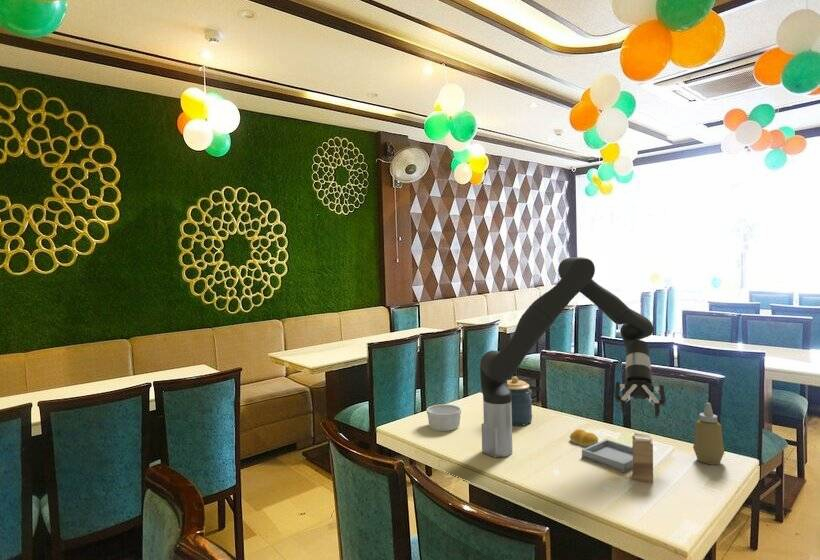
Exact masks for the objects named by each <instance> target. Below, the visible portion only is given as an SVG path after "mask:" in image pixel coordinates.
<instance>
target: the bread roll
mask: <svg viewBox="0 0 820 560" xmlns="http://www.w3.org/2000/svg"><path fill="white" fill-rule="evenodd" d="M569 439H570V440H571V442H572V443H574V444H576V445H580V446H582V447H589V446H592V445H594V444H596V443H599V437H598V436H597V435H596V434H594V433H592V432H587V431H586V430H584V429H576V430H574V431H573V432H571V433H570V435H569Z"/></svg>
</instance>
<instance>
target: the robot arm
mask: <svg viewBox="0 0 820 560" xmlns="http://www.w3.org/2000/svg"><path fill="white" fill-rule="evenodd" d="M557 271H558V276H559V277H560V280H559V281H558V283H556V284H555V285H554V286H553V287H552V288H551V289H549V290H548V291H546V292H544V293H543V294H542V295H541V296H539V297H538V298H537V299H536V300H534V301H533V302H532V303H531V304H530V305H529V306H528V307H527V309H526V310H525V311H524V313H523V314H522V315H521V317H520V319H519V320H518V322H517V325H516V328H515V330H514V332H513V335H512V337H511V338H510V340H509V341H508V343H507V344H506V345H505V346H504V347H503V348H502V349H501V350H500V351H499V350H490V351H489V350H488V351H486V352H485V353H484V355H482V356H481V359H480V366H479V375H480V388H481V392H482V397H483V398H482V400H483V401H482V403H483V405H482V406H483V423H481V453H482V454H483V453H484V454H486V455H488V456H489V457H490V456H491V457H493V458H495V459H497V458H502V457H503V458H505V457H508V456H511V455H512V454H513V425H512V397H511V392H510V390H509V387H508V384H507V380H511V379H512V377H513V376H514V374H515V373H516V372H517V370H518V368H519V367H520V366H521V364H522V362H523V360H524V359H525V357H526V356H527V355H528V353H530V351H531V350H532V349H533V347H534V346H535V345H536V344H537V342H538V341H539V340H540V339H541V338H542V336H544V335H545V333H546V332H547V331H548V330H549V328H550V327H551V326H552V325H553V324H554V322H555V321H556V319H557V318H558V317H559V316H560V315H561V314H562V313H563V311H564V310H565V309H566V307H567V306H568V305H569V304H570V302H571V301H572V300H573V299H574V298H575V297H576V296H577V295H578V294H579V293H581V294H582V295H583V296H585V298H587V299H588V300H589V301H591V303H593V305H595V306H596V307H597V308H598V309H599V310H600V311H601V312H603V314H605V316H607V317H608V319H610V320H611V321H612V322H613V323H614V324H615V325H621V326H620V330H619V331H620V332H619V333H620V335H621V338H622V341H623V343H624V347H625V356H626V358H625V367H624V368H625V383H620V381H616V382H615V388H614V389H615V390H614V391H615V392H614V401H615V402H616V403H620V406H621V407H620V408H621V409H620V410H621V413H622V414H623V415H624V416H626V415H627V402H629V401H630V400H631V399H632V398H633V399H637V400H638V399H641V400H645V399H647V400H648V402H649V403H651V404H652V405H653V414H654V415H653V416H654V418H657V419H658V417H660V414H661V412H660V410H661V409H660V407H661V406H662V407H665V406H666V401H667V399H666V394H665V393H666V392H665V387H664V385H663V384H660V385H659V386H655V385H653V379H652V378H653V377H652V376H653V375H652V364H651V359H650V349H649V345H648V343H647V342H646V341H644V340H642V339H645V338H648V337H650V336H651V335H653V333H654V331H655V330H654V325H653V323H652V322H651V321H650V319H649V318H647V316H644V315H643V314H640V313H639V312H637V311H635V310H633V309H632V308H630V307H629V306H628V305H627V304H625V302H623V301H622V300H621V299H620V298H619V297H618V296H617V295H615V294H614V293H612V292H611V291H609V290H608V289H606V288H605V287H603V286H601V285H600V284H598V282H596V281H595V280H594V279H593V278H594V276H595V272H596V266H595V264H594V262H593V261H592V260H591V259H590V258H587V257H584V256H583V257H582V256H581V257H580V256H577V257H576V256H575V257H572V256H571V257H568V258H565V259H563V260H561V262H560V263H559V265H558V269H557ZM624 389H625V393H624V394H623V395H622V396H620V392H622V391H623V390H624ZM654 391H655V392H656V394H658V396H659V399H658V398H657V397H656V396H655V394H654Z"/></svg>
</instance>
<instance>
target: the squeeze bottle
mask: <svg viewBox="0 0 820 560" xmlns="http://www.w3.org/2000/svg"><path fill="white" fill-rule="evenodd" d="M722 431H723V430H722V425H721V423H719V422H718V415H716V414H714V412H713V407H712V404H711V402H705V406H704V410H703V412H700V413H699V419H698V420H696V422H695V429H694V439H693V447H692V449H693V451H694V453H695V456H696V459H697V460H698V461H699V462H701V463H703V464H708V465H719V464H721V461H722V459H723V457H724V454H725V447H724V441H723V432H722Z"/></svg>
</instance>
